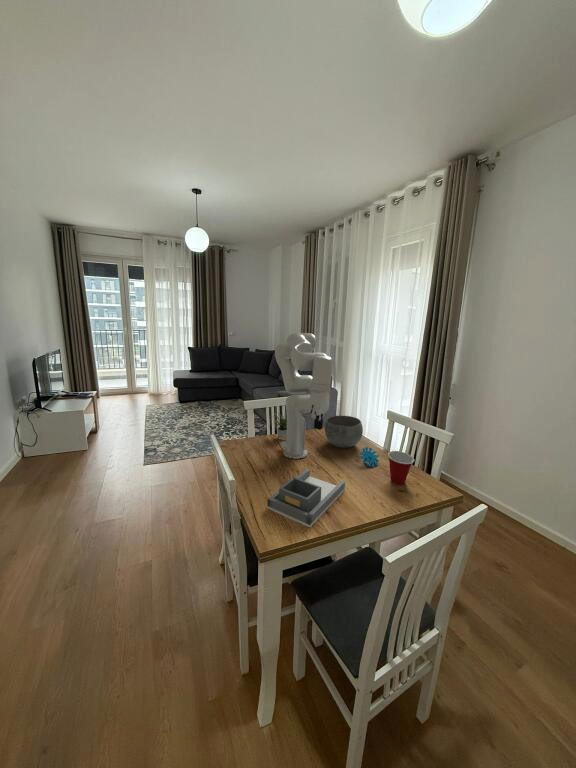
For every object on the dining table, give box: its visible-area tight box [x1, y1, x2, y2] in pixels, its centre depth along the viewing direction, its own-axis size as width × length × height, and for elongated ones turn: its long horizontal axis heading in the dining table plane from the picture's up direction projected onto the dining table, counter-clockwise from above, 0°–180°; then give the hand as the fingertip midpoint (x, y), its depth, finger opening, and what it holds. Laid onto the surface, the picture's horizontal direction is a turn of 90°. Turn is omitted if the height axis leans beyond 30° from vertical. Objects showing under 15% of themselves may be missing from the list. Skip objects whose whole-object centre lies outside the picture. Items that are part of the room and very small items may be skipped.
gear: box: [360, 446, 380, 468], centre depth 150 cm, size 11×6×10 cm
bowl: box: [324, 415, 364, 449], centre depth 168 cm, size 20×20×15 cm
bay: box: [267, 468, 346, 528], centre depth 118 cm, size 18×28×4 cm, turn 146°
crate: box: [278, 476, 321, 513], centre depth 113 cm, size 12×10×7 cm
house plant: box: [271, 412, 287, 439], centre depth 176 cm, size 14×14×16 cm
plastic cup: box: [387, 450, 415, 485], centre depth 132 cm, size 11×11×12 cm
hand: (318, 428), depth 128 cm, fingers closed
